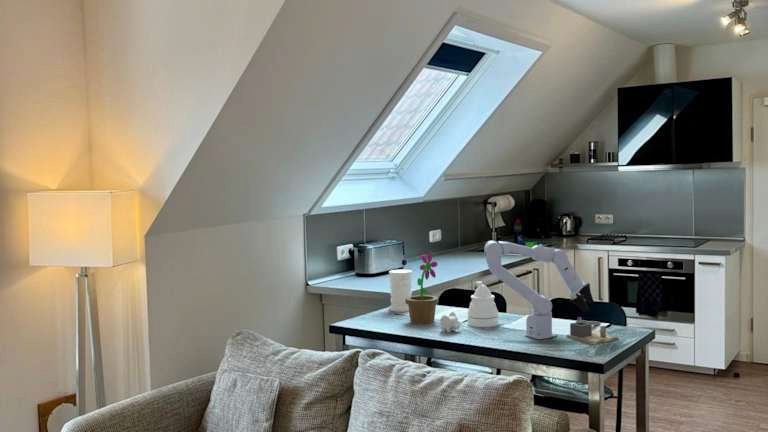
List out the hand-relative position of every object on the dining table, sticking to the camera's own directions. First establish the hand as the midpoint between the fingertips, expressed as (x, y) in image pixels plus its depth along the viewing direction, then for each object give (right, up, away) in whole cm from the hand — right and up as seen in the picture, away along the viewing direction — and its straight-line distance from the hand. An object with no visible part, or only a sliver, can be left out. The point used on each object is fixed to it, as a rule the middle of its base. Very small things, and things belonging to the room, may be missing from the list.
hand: (588, 307), depth 285 cm
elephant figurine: (-52, -12, +14) cm, 55 cm away
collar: (-4, -10, -3) cm, 11 cm away
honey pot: (-37, -10, +26) cm, 47 cm away
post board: (0, -11, -4) cm, 12 cm away
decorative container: (-71, -9, +61) cm, 94 cm away
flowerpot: (-63, -11, +33) cm, 72 cm away
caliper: (+3, -11, +13) cm, 17 cm away
